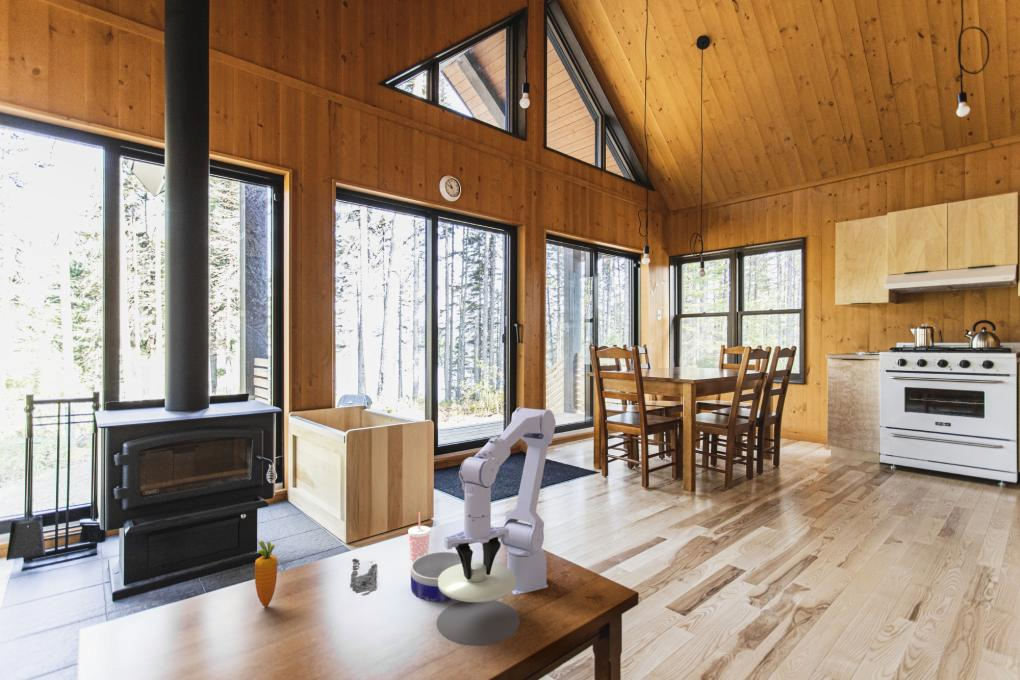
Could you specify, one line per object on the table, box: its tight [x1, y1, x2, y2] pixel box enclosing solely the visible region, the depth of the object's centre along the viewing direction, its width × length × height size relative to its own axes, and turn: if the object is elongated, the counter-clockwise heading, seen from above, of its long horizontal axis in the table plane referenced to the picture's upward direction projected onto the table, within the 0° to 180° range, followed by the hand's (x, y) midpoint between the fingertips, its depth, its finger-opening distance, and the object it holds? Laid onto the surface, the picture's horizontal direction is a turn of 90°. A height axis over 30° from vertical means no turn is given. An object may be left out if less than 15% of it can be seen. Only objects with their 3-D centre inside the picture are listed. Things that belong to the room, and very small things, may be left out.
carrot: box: [254, 540, 278, 608], centre depth 115 cm, size 5×5×15 cm
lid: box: [438, 561, 516, 602], centre depth 110 cm, size 17×17×3 cm
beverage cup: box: [407, 511, 432, 565], centre depth 138 cm, size 6×6×14 cm
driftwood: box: [349, 558, 377, 597], centre depth 129 cm, size 21×7×2 cm, turn 14°
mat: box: [436, 600, 521, 647], centre depth 109 cm, size 18×18×1 cm
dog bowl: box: [410, 550, 474, 603], centre depth 124 cm, size 15×15×6 cm
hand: (477, 575), depth 110 cm, fingers closed on lid, 4 cm apart
